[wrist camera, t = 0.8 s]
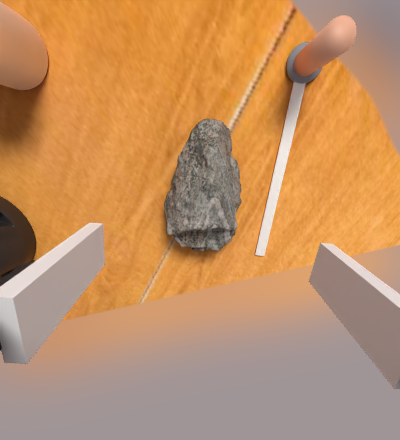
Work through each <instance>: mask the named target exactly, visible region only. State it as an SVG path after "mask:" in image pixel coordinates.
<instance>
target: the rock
mask: <svg viewBox="0 0 400 440" xmlns="http://www.w3.org/2000/svg"><path fill="white" fill-rule="evenodd" d="M231 151H232V142H231V137H230V131H229V129H228V128H227V127H226V125H225V124H224V123H223V122H222V121H220V120H215V119H204V120H202V121H200V122H199V123H198V124H197V125H196V126H195V128H194V129H193V130H192V131H191V134H190V137H189V139H188V141H187V142H186V145H185V146H184V148H183V151H182V152H181V153H180V154H179V156H178V165H177V168H176V171H175V174H174V176H173V179H172V181H171V187H172V188H171V190H170V191H169V192H168V194H167V196H166V200H165V202H164V206H165V214H166V220H167V228H166V233H167V234H168V235H171V234H173V235H174V238H175V240H176V242H177V243H179V244H180V246H181V247H190V248H192V249H193V250H194V251H205V250H207V249H211V250H214V251H218V250H220V249H221V248H223V246H224V245H226V244H227V243H229V242H231V240H232V237H233V236H234V235H235V230H236V228H237V222H236V220H235V215H236V212H237V209H238V207H239V206H240V204H241V199H240V193H241V184H240V181H239V179H240V173H239V167H238V163H237V161H236V160H235V159H234V158H233V157H232V155H231Z"/></svg>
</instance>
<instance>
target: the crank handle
mask: <svg viewBox="0 0 400 440" xmlns="http://www.w3.org/2000/svg"><path fill="white" fill-rule="evenodd" d="M356 32H357V29H356V24H355V22H354V21H353V19H352V18H350V17H349V16H344V15H343V16H338V17H336V18H334V19H333V20H332V21H331V22H330V23H329V24H328V25H327V26H326V27H325V28H324V29H323V30H321V31H320V32H319V33H318V34H317V35H316V36H315V37H314V38H313V39H312V40H311V41H310V42H304V43H301V44H299V45H298V46H297V47H296V48H295V49H294V50H293V51H292V52H291V53H290V55H289V57H288V59H287V64H286V71H287V74H288V77H289V78H290V79H291V80H292V81H293V82H294V83H293V87H292V92H291V96H290V101H289V105H288V110H287V114H286V118H285V123H284V127H283V132H282V136H281V141H280V145H279V150H278V154H277V158H276V163H275V167H274V172H273V176H272V181H271V185H270V190H269V194H268V198H267V203H266V207H265V212H264V216H263V221H262V225H261V230H260V234H259V238H258V243H257V247H256V252H255V255H259V256H264V255H265V251H266V247H267V242H268V238H269V234H270V230H271V226H272V222H273V217H274V213H275V209H276V205H277V201H278V197H279V193H280V188H281V184H282V180H283V176H284V172H285V168H286V164H287V159H288V155H289V151H290V147H291V143H292V139H293V134H294V130H295V126H296V122H297V118H298V114H299V110H300V105H301V101H302V97H303V93H304V89H305V85H306V83H308V82H310V81H312V80H313V79H314V78H316V77H317V75H318V74H319V73H320V71H321V69H322V67H323V66H324V65H326V64H327V63H329V62H330V61H332V60H333V59H335V58H336V57H338V56H339V55H341V54H342V53H344V52H345V51H347V50H348V49H349V48H350V47H351V46H352V44H353V43H354V40H355V38H356Z"/></svg>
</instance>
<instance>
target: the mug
mask: <svg viewBox="0 0 400 440" xmlns="http://www.w3.org/2000/svg"><path fill="white" fill-rule="evenodd" d="M47 69H48V53H47V50H46V46H45V43H44V41H43V39H42V37H41V35H40V34H39V32H38V31H37V29H36V28H35V27H34V26H33V25H32V24H31V23H30V22H29V21H28V20H26V19H25V18H24V17H22V16H21V15H19V14H18V13H16V12H15V11H14V10H12V9H11V8H9V7H8V6H6V5H5V4H4V3H2V2H1V1H0V85H3V86H6V87H10V88H13V89H17V90H30V89H33V88H35V87H36V86H38V85H39V84H40V83H41V82H42V81H43V79H44V77H45V75H46V73H47Z"/></svg>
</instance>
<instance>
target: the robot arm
mask: <svg viewBox="0 0 400 440" xmlns="http://www.w3.org/2000/svg"><path fill="white" fill-rule="evenodd" d="M35 249H36V242H35V236H34V232H33V230H32V227H31V225H30V224H29V222H28V220H27V219H26V217H25V216H24V215H23V214H22V212H21V211H20V210H19V209H18V208H16V207H15V206H14V205H13V204H12V203H10V202H9V201H7V200H6V199H4V198H2V197H0V350H1V351H2V355H3V359H4V362H6V363H20V364H28V362H29V361H30V360H31V359H32V357H33V356H34V355H35V353H36V352H37V351H38V350H39V348H40V347H41V345H42V344H43V343H44V342H45V341H46V339H47V338H48V337H49V336H50V334H51V333H52V332H53V330H54V329H55V328H56V327H57V325H58V324H59V323H60V321H61V320H62V319H63V318H64V316H65V315H66V314H67V313H68V311H69V310H70V309H71V307H72V306H73V305H74V304H75V302H76V301H77V300H78V298H79V297H80V296H81V295H82V293H83V292H84V291H85V290H86V288H87V287H88V286H89V284H90V283H91V282H92V281H93V279H94V278H95V277H96V275H97V274H98V273H99V272H100V270H101V269H102V268H103V266H104V265H105V255H104V235H103V224H101V223H88V224H87V225H86V226H84V227H83V228H81V229H80V230H79V231H77V232H76V233H74V234H73V235H72V236H70V237H69V238H67V239H66V240H65V241H63V242H62V243H61V244H59V245H58V246H56V247H55V248H54V249H52V250H51V251H49V252H48V253H47V254H45V255H44V256H42V257H41V258H40V259H38V260H37V261H32V259H33V257H34V254H35ZM309 282H310V284H311V285H312V286H313V287H314V289H315V290H316V291H317V292H318V294H319V295H320V296H321V297H322V299H323V300H324V301H325V302H326V304H327V305H328V306H329V307H330V309H331V310H332V311H333V312H334V314H335V315H336V316H337V317H338V319H339V320H340V321H341V323H342V324H343V325H344V326H345V328H346V329H347V330H348V331H349V333H350V334H351V335H352V336H353V338H354V339H355V340H356V341H357V342H358V344H359V345H360V346H361V348H362V349H363V350H364V351H365V353H366V354H367V355H368V356H369V358H370V359H371V360H372V362H373V363H374V364H375V365H376V367H377V368H378V369H379V370H380V372H381V373H382V374H383V375H384V377H385V378H386V379H387V380H388V382H389V383H390V384H391V385H392V387H393V388H394V389H400V294H398V293H397V292H396V291H394V290H393V289H392V288H390V287H389V286H388V285H386V284H385V283H384V282H382V281H381V280H380V279H378V278H377V277H376V276H374V275H373V274H372V273H370V272H369V271H368V270H366V269H365V268H364V267H362V266H361V265H360V264H358V263H357V262H356V261H355V260H353V259H352V258H350V257H349V256H348V255H347V254H345V253H344V252H343V251H341V250H340V249H339V248H337V247H336V246H335V245H333V244H326V243H320V246H319V249H318V253H317V256H316V259H315V263H314V266H313V269H312V273H311V276H310V279H309Z"/></svg>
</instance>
